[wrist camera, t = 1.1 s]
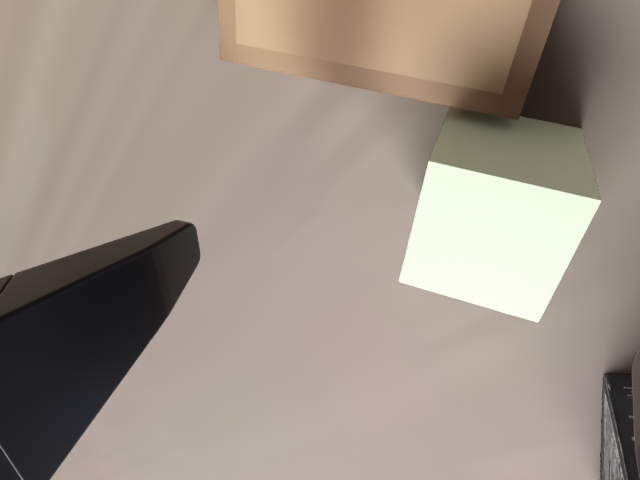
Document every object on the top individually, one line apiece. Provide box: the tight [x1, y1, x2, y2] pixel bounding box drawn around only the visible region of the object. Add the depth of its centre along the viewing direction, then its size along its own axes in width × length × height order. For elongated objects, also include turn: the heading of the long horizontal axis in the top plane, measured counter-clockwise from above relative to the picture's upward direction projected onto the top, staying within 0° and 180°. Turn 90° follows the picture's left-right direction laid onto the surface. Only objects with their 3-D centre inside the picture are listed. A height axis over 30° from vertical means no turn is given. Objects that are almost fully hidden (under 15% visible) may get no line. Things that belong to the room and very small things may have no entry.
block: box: [399, 107, 601, 322], centre depth 18 cm, size 5×5×6 cm
